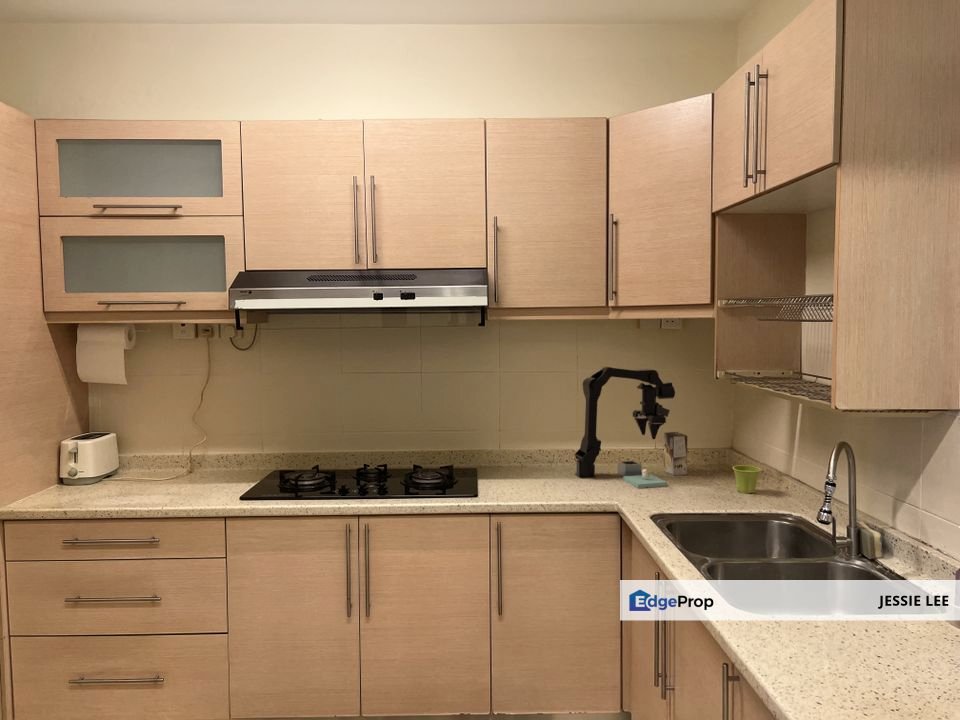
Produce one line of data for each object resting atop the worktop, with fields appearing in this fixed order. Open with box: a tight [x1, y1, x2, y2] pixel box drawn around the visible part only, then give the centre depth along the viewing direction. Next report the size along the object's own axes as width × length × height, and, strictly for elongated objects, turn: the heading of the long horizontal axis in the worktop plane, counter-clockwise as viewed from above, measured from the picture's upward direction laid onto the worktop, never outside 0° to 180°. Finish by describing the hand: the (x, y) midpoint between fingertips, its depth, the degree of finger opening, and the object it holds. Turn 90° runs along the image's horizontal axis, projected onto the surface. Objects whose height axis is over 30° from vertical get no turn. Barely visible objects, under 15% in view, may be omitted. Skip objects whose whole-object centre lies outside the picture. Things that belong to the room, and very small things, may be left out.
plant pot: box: [732, 464, 762, 495], centre depth 228 cm, size 9×9×9 cm
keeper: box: [623, 468, 668, 489], centre depth 241 cm, size 12×12×6 cm
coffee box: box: [663, 431, 688, 476], centre depth 256 cm, size 9×6×16 cm
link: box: [617, 460, 642, 478], centre depth 253 cm, size 7×7×5 cm
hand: (648, 437), depth 257 cm, fingers open, 9 cm apart
